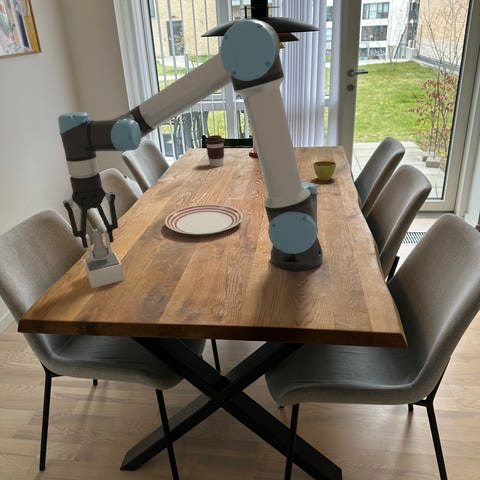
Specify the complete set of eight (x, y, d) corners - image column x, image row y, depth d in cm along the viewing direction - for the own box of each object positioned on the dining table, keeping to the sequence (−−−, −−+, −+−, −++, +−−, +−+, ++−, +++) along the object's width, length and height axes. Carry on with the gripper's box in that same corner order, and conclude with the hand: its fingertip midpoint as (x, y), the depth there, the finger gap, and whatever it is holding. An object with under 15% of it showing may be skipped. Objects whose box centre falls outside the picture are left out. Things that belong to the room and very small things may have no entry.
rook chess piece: (102, 251, 132) (98, 225, 129) (112, 254, 129) (107, 228, 126) (89, 256, 129) (84, 230, 125) (98, 260, 126) (93, 233, 123)
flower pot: (333, 175, 211) (333, 159, 208) (338, 181, 202) (338, 165, 199) (311, 176, 211) (311, 161, 208) (315, 183, 202) (315, 167, 199)
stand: (124, 280, 129) (121, 263, 127) (91, 288, 126) (88, 271, 124) (118, 267, 137) (114, 251, 135) (86, 275, 134) (83, 258, 132)
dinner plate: (258, 223, 163) (258, 214, 162) (198, 248, 147) (197, 238, 145) (209, 207, 182) (209, 199, 181) (151, 227, 166) (149, 219, 164)
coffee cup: (225, 167, 236) (223, 137, 230) (206, 168, 236) (203, 138, 230) (226, 162, 245) (224, 133, 239) (208, 163, 245) (205, 135, 239)
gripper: (115, 165, 126) (128, 243, 135) (47, 176, 119) (66, 257, 129) (121, 171, 119) (134, 252, 129) (50, 183, 113) (69, 268, 122)
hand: (100, 255), depth 129 cm, fingers closed on rook chess piece, 4 cm apart
